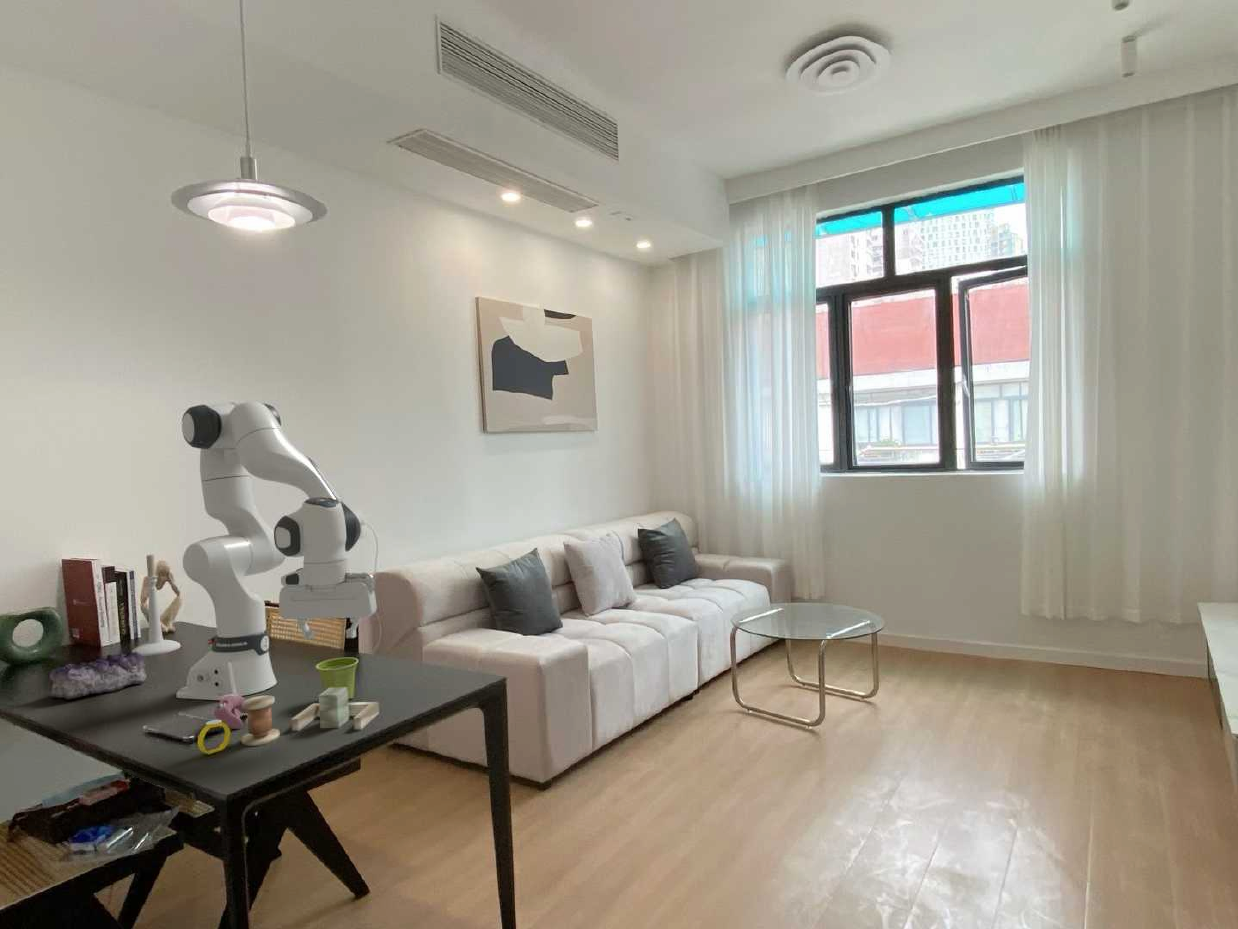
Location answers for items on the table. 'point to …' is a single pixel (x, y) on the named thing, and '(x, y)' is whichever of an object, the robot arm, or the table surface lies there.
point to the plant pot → (338, 673)
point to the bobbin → (259, 721)
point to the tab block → (333, 707)
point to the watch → (201, 736)
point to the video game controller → (230, 711)
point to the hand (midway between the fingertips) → (330, 638)
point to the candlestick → (154, 620)
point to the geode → (98, 676)
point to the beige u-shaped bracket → (358, 709)
